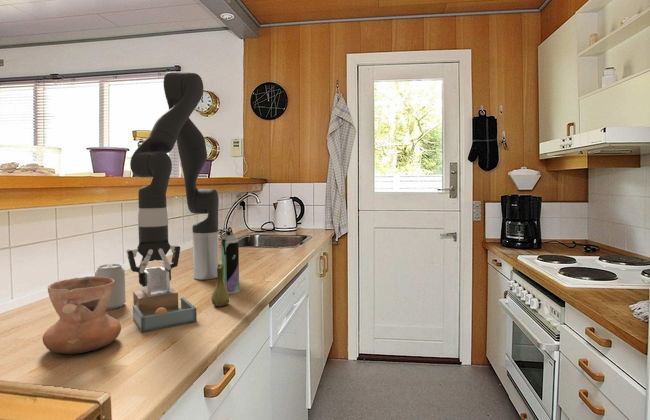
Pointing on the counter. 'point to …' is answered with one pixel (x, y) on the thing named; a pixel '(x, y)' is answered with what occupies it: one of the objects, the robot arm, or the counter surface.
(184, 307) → the tray
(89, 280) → the ceramic jug
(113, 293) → the can
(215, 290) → the fennel bulb
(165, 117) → the robot arm
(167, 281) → the chute
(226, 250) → the spray can
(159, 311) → the ball
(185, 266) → the counter surface
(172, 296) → the stand
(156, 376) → the counter surface
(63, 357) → the counter surface
